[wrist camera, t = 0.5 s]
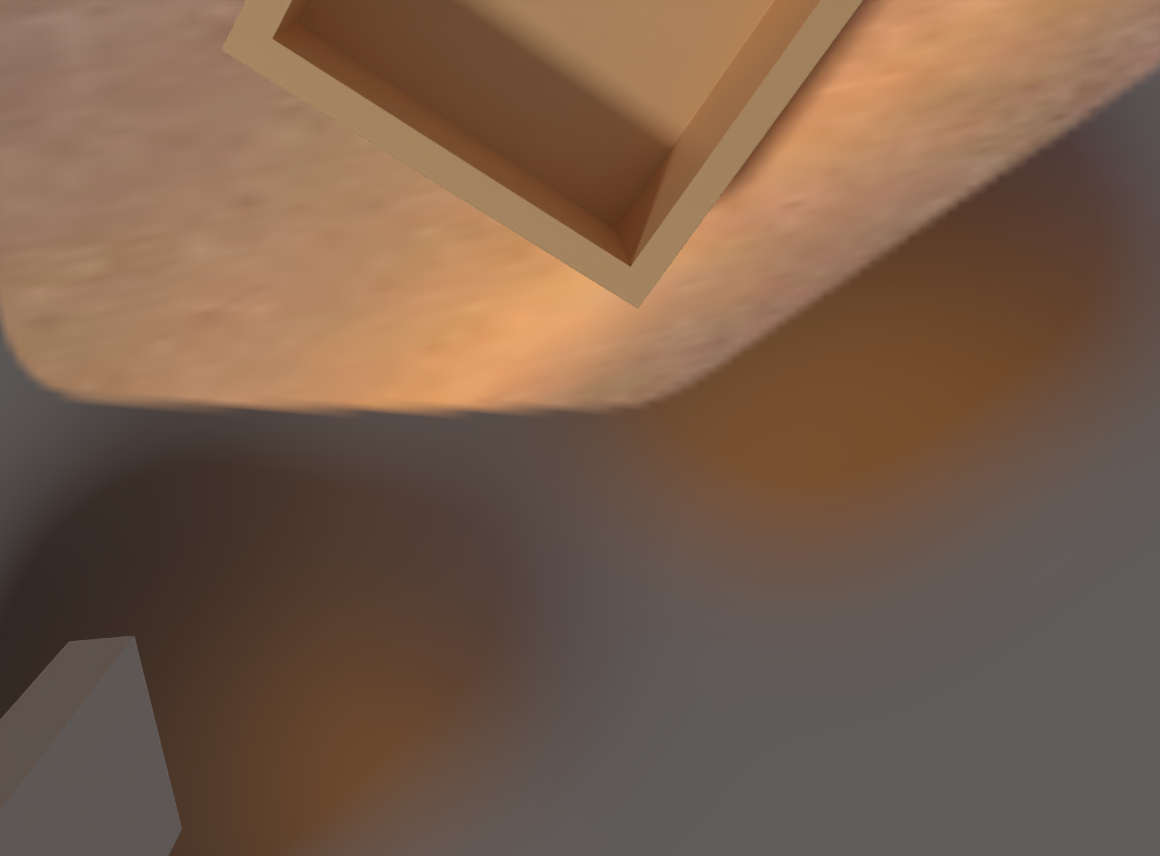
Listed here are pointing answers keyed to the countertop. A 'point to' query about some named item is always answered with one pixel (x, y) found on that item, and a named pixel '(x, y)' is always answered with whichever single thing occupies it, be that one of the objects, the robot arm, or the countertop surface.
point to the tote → (555, 105)
